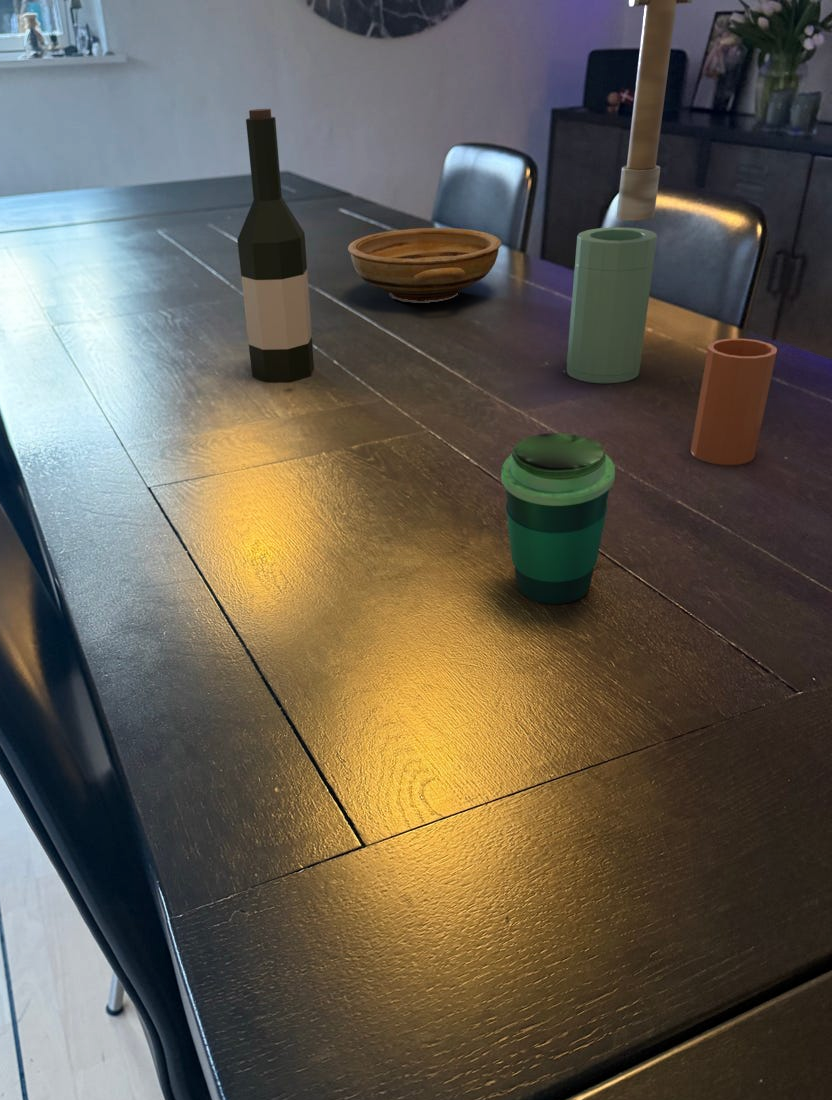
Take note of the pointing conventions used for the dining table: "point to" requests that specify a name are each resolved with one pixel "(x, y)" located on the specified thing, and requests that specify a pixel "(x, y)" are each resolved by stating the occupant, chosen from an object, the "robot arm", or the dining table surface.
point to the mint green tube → (610, 303)
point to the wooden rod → (647, 114)
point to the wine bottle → (273, 267)
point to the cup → (556, 513)
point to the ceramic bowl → (424, 261)
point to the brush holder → (732, 400)
